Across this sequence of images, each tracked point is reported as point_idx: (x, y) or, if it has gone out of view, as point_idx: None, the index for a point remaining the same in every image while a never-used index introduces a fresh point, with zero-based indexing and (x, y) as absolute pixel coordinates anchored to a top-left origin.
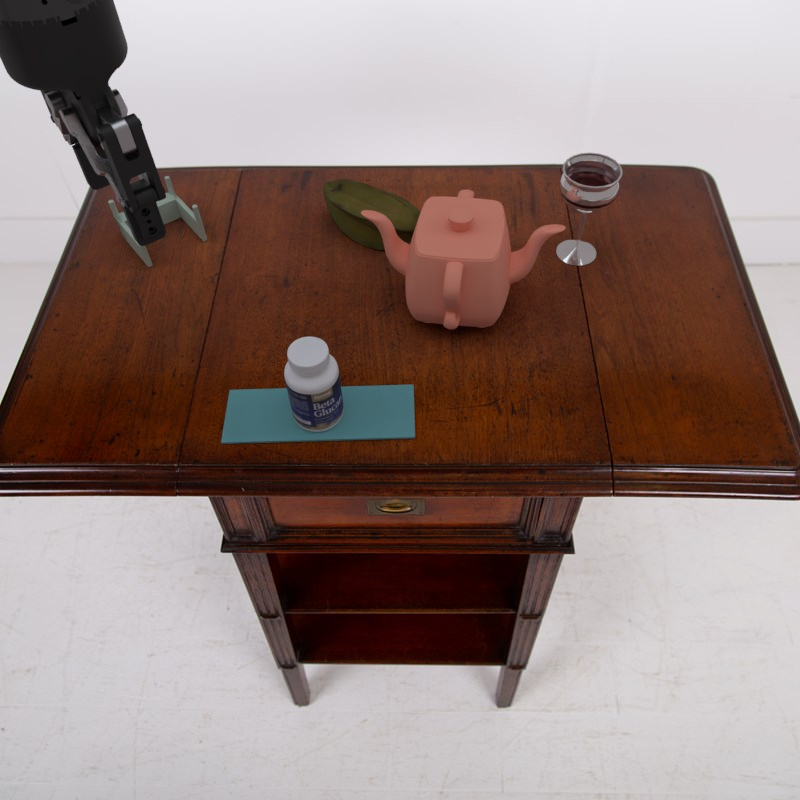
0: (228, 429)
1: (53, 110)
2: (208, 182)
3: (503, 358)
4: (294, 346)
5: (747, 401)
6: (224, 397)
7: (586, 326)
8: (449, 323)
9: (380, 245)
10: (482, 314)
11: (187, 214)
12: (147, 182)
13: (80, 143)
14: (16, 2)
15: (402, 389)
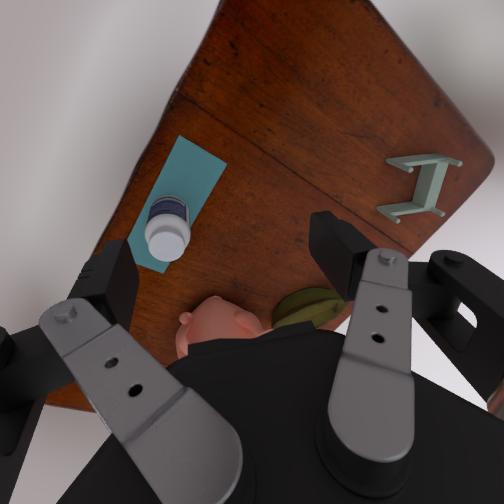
0: (189, 146)
1: (337, 395)
2: (425, 231)
3: (158, 321)
4: (177, 240)
5: (71, 397)
6: (223, 156)
7: (158, 361)
8: (180, 317)
9: (284, 302)
10: (178, 334)
11: (403, 209)
12: (39, 396)
13: (158, 381)
14: None
15: (162, 266)
